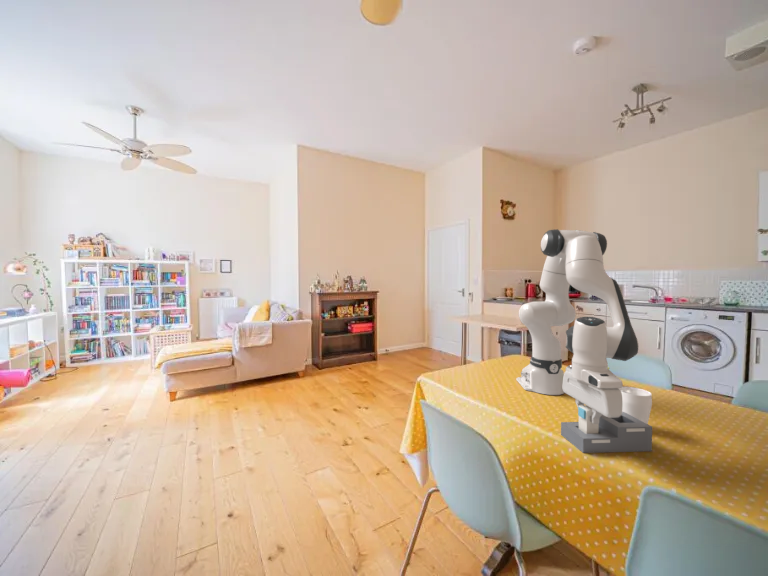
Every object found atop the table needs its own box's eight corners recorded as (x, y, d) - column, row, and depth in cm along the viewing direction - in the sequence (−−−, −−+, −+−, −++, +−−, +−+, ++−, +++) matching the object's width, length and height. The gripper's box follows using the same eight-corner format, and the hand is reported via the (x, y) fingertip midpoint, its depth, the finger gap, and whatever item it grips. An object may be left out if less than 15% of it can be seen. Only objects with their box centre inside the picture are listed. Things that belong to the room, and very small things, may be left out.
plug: (576, 435, 93) (577, 405, 93) (589, 434, 93) (590, 405, 93) (584, 441, 89) (585, 410, 89) (598, 440, 90) (598, 410, 89)
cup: (616, 418, 108) (617, 384, 107) (650, 426, 102) (651, 390, 102) (615, 427, 101) (616, 391, 100) (651, 436, 95) (652, 398, 95)
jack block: (560, 434, 96) (561, 412, 96) (622, 433, 97) (623, 411, 97) (583, 453, 86) (584, 428, 86) (652, 451, 87) (652, 426, 87)
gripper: (557, 363, 101) (556, 405, 101) (604, 384, 81) (603, 436, 81) (575, 363, 101) (575, 404, 102) (628, 384, 81) (626, 436, 81)
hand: (588, 419), depth 91 cm, fingers closed on plug, 3 cm apart
